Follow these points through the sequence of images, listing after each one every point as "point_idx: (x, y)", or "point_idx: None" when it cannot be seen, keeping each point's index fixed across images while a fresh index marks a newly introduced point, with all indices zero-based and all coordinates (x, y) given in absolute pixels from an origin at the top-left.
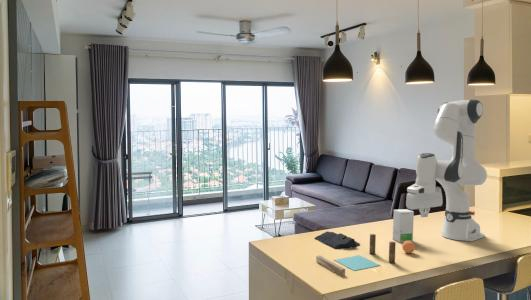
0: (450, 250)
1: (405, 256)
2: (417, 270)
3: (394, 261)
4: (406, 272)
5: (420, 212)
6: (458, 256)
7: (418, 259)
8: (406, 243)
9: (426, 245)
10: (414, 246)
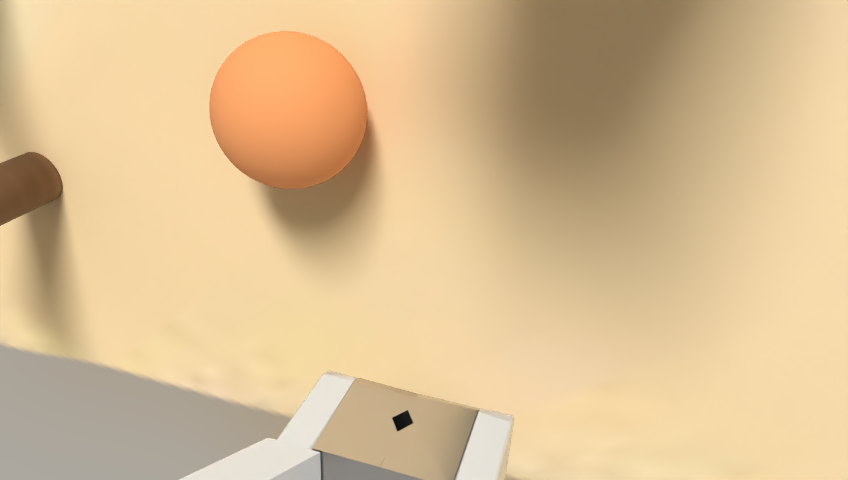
0: (841, 329)
1: None
2: (129, 369)
3: (38, 206)
4: (49, 342)
5: (241, 462)
6: (685, 450)
7: (280, 264)
8: (214, 134)
9: (804, 20)
10: (315, 184)
